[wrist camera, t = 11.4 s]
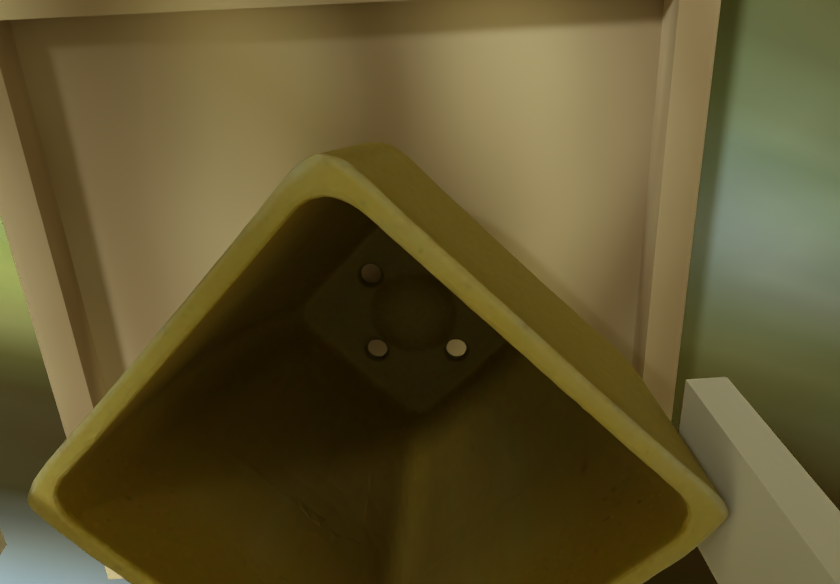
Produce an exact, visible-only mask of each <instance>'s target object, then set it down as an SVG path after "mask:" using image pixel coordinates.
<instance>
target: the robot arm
mask: <svg viewBox="0 0 840 584" xmlns="http://www.w3.org/2000/svg"><path fill="white" fill-rule="evenodd" d="M679 435H680V436H681V438H682V439H683V441H684V442H685V444H686V445H687V447H688V448H689V450H690V452H691V453H692V455H693V456H694V458H695V459H696V461H697V462H698V464H699V465H700V467H701V469H702V470H703V472H704V473H705V475H706V476H707V478H708V479H709V481H710V482H711V484H712V485H713V487H714V488H715V489H716V491H717V492H718V494H719V495H720V496H721V498H722V499H723V501H724V503H725V505H726V507H727V508H728V510H729V513H728V518H727V519H726V520H725V521H724V522H723V523H722V524H721V525H720V526H719V527H718V528H717V529H716V530H715V531H714V532H713V533H712V534H710V535H709V536H708V537H707V538H706V539H705V540H704V541H703V542H702V543H700V544H699V545H698V546H697V547H698V548H699V550H700V552H701V554H702V556H703V557H704V559H705V561H706V563H707V565H708V567H709V568H710V570H711V572H712V574H713V576H714V578H715V579H716V581H717V583H718V584H840V511H839V510H838V509H837V507H836V506H835V505H834V504H833V503H832V501H831V500H830V499H829V498H828V497H827V496H826V494H825V493H824V492H823V491H822V490H821V488H820V487H819V486H818V485H817V484H816V482H815V481H814V480H813V479H812V478H811V476H810V475H809V474H808V473H807V472H806V471H805V469H804V468H803V467H802V466H801V465H800V463H799V462H798V461H797V460H796V459H795V457H794V456H793V455H792V454H791V453H790V451H789V450H788V449H787V448H786V447H785V446H784V444H783V443H782V442H781V441H780V440H779V438H778V437H777V436H776V435H775V434H774V432H773V431H772V430H771V429H770V428H769V426H768V425H767V424H766V423H765V422H764V421H763V419H762V418H761V417H760V416H759V415H758V413H757V412H756V411H755V410H754V409H753V407H752V406H751V405H750V404H749V403H748V401H747V400H746V399H745V398H744V397H743V396H742V394H741V393H740V392H739V391H738V390H737V388H736V387H735V386H734V385H733V384H732V382H731V381H730V380H729V379H728V378H727V377H715V378H700V379H686V382H685V390H684V397H683V405H682V412H681V420H680V427H679ZM6 545H7V544H6V542H5V539H4V536H3V534H2V531H1V529H0V554H1V552H2V551H3V549H4V548H5V546H6Z"/></svg>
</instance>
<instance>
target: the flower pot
mask: <svg viewBox="0 0 840 584" xmlns="http://www.w3.org/2000/svg"><path fill="white" fill-rule="evenodd" d="M367 264H374V265H376V266H378V267H379V268H380V270H381V278H380V279H379V281H377V282H368V281H366V280H365V279H364V278H363V276H362V268H363V267H364V266H365V265H367ZM454 339H458V340H461V341H463V342H464V343H465V344H466V351H465V353H464V354H463V355H461V356H453V355H451V354H450V353H449V352H448V351H447V348H446V347H447V344H448V342H449V341H451V340H454ZM372 340H381V341H383V342H384V343H385V344H386V346H387V348H388V349H387V352H386V353H385V354H384V355H383V356H375V355H373V354H372V353H371V352H370V351H369V349H368V345H369V343H370V341H372ZM27 502H28V504H29V505H30V507H31V508H32V510H33V511H34V512H35V513H37V514H38V515H39V516H40V517H41V518H42V519H44V520H45V521H46V522H47V523H48V524H50V525H51V526H52V527H53V528H54V529H56V530H57V531H58V532H60V533H61V534H63V535H64V536H65V537H67V538H68V539H69V540H71V541H72V542H73V543H75V544H76V545H77V546H78V547H80V548H81V549H82V550H84V551H85V552H86V553H88V554H89V555H90V556H92V557H93V558H94V559H96V560H97V561H99V562H101V563H102V564H103V565H105V566H106V567H108V568H110V569H111V570H113V571H114V572H116V573H117V574H118V575H120V576H121V577H123V578H124V579H125V580H127V581H128V582H130V583H131V584H643V583H644V582H646V581H647V580H649V579H650V578H652V577H653V576H655V575H656V574H658V573H659V572H661V571H662V570H664V569H666V568H667V567H669V566H671V565H672V564H674V563H675V562H677V561H678V560H680V559H681V558H683V557H684V556H686V555H687V554H688V553H689V552H691V551H692V550H693V549H695V548H696V547H697V546H698V545H699V544H700V543H702V542H703V541H704V540H705V539H706V538H707V537H708V536H709V535H710V534H712V533H713V532H714V531H715V530H716V529H717V528H718V527H719V526H720V525H721V524H722V523H723V522H724V521H725V520H726V519H727V518H728V513H729V510H728V508H727V507H726V505H725V503H724V501H723V499H722V498H721V496H720V495H719V494H718V492H717V491H716V489H715V488H714V487H713V485H712V484H711V482H710V481H709V479H708V478H707V476H706V475H705V473H704V472H703V470H702V469H701V467H700V465H699V464H698V462H697V461H696V459H695V458H694V456H693V455H692V453H691V452H690V450H689V448H688V447H687V445H686V444H685V442H684V441H683V439H682V438H681V436H680V435H679V433H678V432H677V430H676V429H675V427H674V426H673V424H672V423H671V421H670V420H669V418H668V417H667V415H666V414H665V412H664V411H663V409H662V408H661V406H660V405H659V404H658V402H657V401H656V399H655V398H654V396H653V395H652V393H651V392H650V390H649V389H648V387H647V386H646V384H645V383H644V381H643V380H642V378H641V377H640V376H639V374H638V373H637V372H636V370H635V369H634V368H633V367H632V365H631V364H630V363H629V362H628V361H627V360H626V359H625V357H624V356H623V355H622V354H621V353H620V352H619V351H618V350H617V349H616V348H615V347H614V346H613V345H611V344H610V343H609V342H608V341H607V340H606V339H605V338H604V337H603V336H602V335H601V334H599V333H598V332H597V331H596V330H595V329H594V328H593V327H591V326H590V325H589V324H588V323H587V322H586V321H585V320H584V319H582V318H581V317H580V316H579V315H578V314H577V313H576V312H575V311H574V310H573V309H571V308H570V307H569V306H568V305H567V304H566V303H565V302H564V301H562V300H561V299H560V298H559V297H558V296H557V295H556V294H555V293H553V292H552V291H551V290H550V289H549V288H548V287H547V286H546V285H545V284H543V283H542V282H541V281H540V280H539V279H538V278H537V277H536V276H535V275H534V274H533V273H532V272H530V271H529V270H528V269H527V268H526V267H525V266H524V265H523V264H522V263H521V262H520V261H519V260H517V259H516V258H515V257H514V256H513V255H512V254H511V253H510V252H509V251H508V250H507V249H505V248H504V247H503V246H502V245H501V244H500V243H499V242H498V241H497V240H496V239H495V238H494V237H492V236H491V235H490V234H489V233H488V232H487V231H486V230H485V229H484V228H483V227H482V226H481V225H480V224H479V223H477V222H476V221H475V220H474V219H473V218H472V217H471V216H470V215H469V214H468V213H467V212H466V211H465V210H464V209H463V208H461V207H460V206H459V205H458V204H457V203H456V202H455V201H454V200H453V199H452V198H451V197H450V196H449V195H448V194H446V193H445V192H444V191H443V190H442V189H441V188H440V187H439V186H438V185H437V184H436V183H435V182H434V181H433V180H432V179H431V178H430V177H429V176H428V175H427V174H426V173H425V172H424V171H423V170H422V169H421V168H420V167H419V166H418V165H417V164H416V163H415V162H413V161H412V160H411V159H410V158H409V157H408V156H407V155H405V154H404V153H403V152H402V151H400V150H399V149H397V148H395V147H393V146H391V145H389V144H386V143H382V142H369V143H363V144H357V145H353V146H349V147H345V148H341V149H337V150H332V151H328V152H324V153H319V154H313V155H311V156H309V157H307V158H305V159H304V160H302V161H301V162H299V163H298V164H297V165H296V166H295V167H294V168H293V169H292V170H291V171H290V172H289V173H288V175H287V176H286V177H285V178H284V179H283V181H282V182H281V183H280V184H279V185H278V186H277V188H276V189H275V190H274V192H273V193H272V194H271V195H270V196H269V197H268V199H267V200H266V201H265V202H264V204H263V205H262V206H261V208H260V209H259V211H258V212H257V213H256V214H255V215H254V217H253V218H252V219H251V220H250V221H249V223H248V224H247V225H246V226H245V227H244V229H243V230H242V231H241V232H240V234H239V235H238V236H237V237H236V239H235V240H234V241H233V242H232V244H231V245H230V246H229V247H228V249H227V250H226V251H225V252H224V253H223V255H222V256H221V257H220V258H219V259H218V261H217V262H216V263H215V264H214V265H213V267H212V268H211V269H210V270H209V272H208V273H207V274H206V275H205V277H204V278H203V279H202V280H201V281H200V283H199V284H198V285H197V286H196V288H195V289H194V290H193V291H192V292H191V294H190V295H189V296H188V297H187V299H186V300H185V301H184V302H183V303H182V305H181V306H180V307H179V308H178V309H177V310H176V312H175V313H174V314H173V315H172V316H171V317H170V319H169V320H168V321H167V322H166V323H165V325H164V326H163V327H162V328H161V329H160V330H159V332H158V333H157V334H156V335H155V336H154V337H153V339H152V340H151V341H150V342H149V343H148V344H147V345H146V347H145V348H144V349H143V350H142V352H141V353H140V355H139V356H138V357H137V358H136V359H135V361H134V362H133V363H132V364H131V365H130V367H129V368H128V369H127V370H126V371H125V372H124V374H123V375H122V376H121V377H120V378H119V380H118V381H117V382H116V383H115V384H114V385H113V387H112V388H111V389H110V390H109V391H108V392H107V394H106V395H105V396H104V397H103V398H102V399H101V401H100V402H99V403H98V404H97V405H96V406H95V408H94V409H93V410H92V411H91V412H90V414H89V415H88V416H87V417H86V418H85V419H84V420H83V421H82V422H81V423H80V424H79V426H78V427H77V428H76V429H75V430H74V431H73V432H72V433H71V434H70V436H69V437H68V438H67V439H66V440H65V441H64V442H63V444H62V445H61V446H60V447H59V448H58V450H57V451H56V452H55V453H54V455H53V456H52V457H51V458H50V459H49V460H48V461H47V463H46V464H45V465H44V467H43V468H42V469H41V471H40V472H39V473H38V475H37V476H36V478H35V479H34V481H33V483H32V486H31V489H30V491H29V494H28V498H27Z"/></svg>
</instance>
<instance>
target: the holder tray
mask: <svg viewBox="0 0 840 584" xmlns="http://www.w3.org/2000/svg"><path fill="white" fill-rule="evenodd" d="M720 6H721V0H0V215H1V219H2V222H3V225H4V229H5V232H6V235H7V239H8V242H9V245H10V249H11V252H12V256H13V259H14V262H15V266H16V269H17V272H18V276H19V279H20V283H21V286H22V289H23V293H24V296H25V299H26V303H27V306H28V310H29V313H30V316H31V320H32V323H33V326H34V330H35V333H36V336H37V340H38V343H39V347H40V350H41V353H42V357H43V360H44V363H45V367H46V370H47V374H48V377H49V380H50V384H51V387H52V390H53V394H54V397H55V400H56V404H57V407H58V411H59V414H60V417H61V421H62V424H63V427H64V431H65V434H66V438H68V437H69V436H70V434H71V433H72V432H73V431H74V430H75V429H76V428H77V427H78V426H79V424H80V423H81V422H82V421H83V420H84V419H85V418H86V417H87V416H88V415H89V414H90V412H91V411H92V410H93V409H94V408H95V406H96V405H97V404H98V403H99V402H100V401H101V399H102V398H103V397H104V396H105V395H106V394H107V392H108V391H109V390H110V389H111V388H112V387H113V385H114V384H115V383H116V382H117V381H118V380H119V378H120V377H121V376H122V375H123V374H124V372H125V371H126V370H127V369H128V368H129V367H130V365H131V364H132V363H133V362H134V361H135V359H136V358H137V357H138V356H139V355H140V353H141V352H142V350H143V349H144V348H145V347H146V345H147V344H148V343H149V342H150V341H151V340H152V339H153V337H154V336H155V335H156V334H157V333H158V332H159V330H160V329H161V328H162V327H163V326H164V325H165V323H166V322H167V321H168V320H169V319H170V317H171V316H172V315H173V314H174V313H175V312H176V310H177V309H178V308H179V307H180V306H181V305H182V303H183V302H184V301H185V300H186V299H187V297H188V296H189V295H190V294H191V292H192V291H193V290H194V289H195V288H196V286H197V285H198V284H199V283H200V281H201V280H202V279H203V278H204V277H205V275H206V274H207V273H208V272H209V270H210V269H211V268H212V267H213V265H214V264H215V263H216V262H217V261H218V259H219V258H220V257H221V256H222V255H223V253H224V252H225V251H226V250H227V249H228V247H229V246H230V245H231V244H232V242H233V241H234V240H235V239H236V237H237V236H238V235H239V234H240V232H241V231H242V230H243V229H244V227H245V226H246V225H247V224H248V223H249V221H250V220H251V219H252V218H253V217H254V215H255V214H256V213H257V212H258V211H259V209H260V208H261V206H262V205H263V204H264V202H265V201H266V200H267V199H268V197H269V196H270V195H271V194H272V193H273V192H274V190H275V189H276V188H277V186H278V185H279V184H280V183H281V182H282V181H283V179H284V178H285V177H286V176H287V175H288V173H289V172H290V171H291V170H292V169H293V168H294V167H295V166H296V165H297V164H298V163H299V162H301V161H302V160H304V159H305V158H307V157H309V156H311V155H313V154H319V153H324V152H328V151H332V150H337V149H341V148H345V147H349V146H353V145H357V144H363V143H369V142H382V143H386V144H389V145H391V146H393V147H395V148H397V149H399V150H400V151H402V152H403V153H404V154H405V155H407V156H408V157H409V158H410V159H411V160H412V161H413V162H415V163H416V164H417V165H418V166H419V167H420V168H421V169H422V170H423V171H424V172H425V173H426V174H427V175H428V176H429V177H430V178H431V179H432V180H433V181H434V182H435V183H436V184H437V185H438V186H439V187H440V188H441V189H442V190H443V191H444V192H445V193H446V194H448V195H449V196H450V197H451V198H452V199H453V200H454V201H455V202H456V203H457V204H458V205H459V206H460V207H461V208H463V209H464V210H465V211H466V212H467V213H468V214H469V215H470V216H471V217H472V218H473V219H474V220H475V221H476V222H477V223H479V224H480V225H481V226H482V227H483V228H484V229H485V230H486V231H487V232H488V233H489V234H490V235H491V236H492V237H494V238H495V239H496V240H497V241H498V242H499V243H500V244H501V245H502V246H503V247H504V248H505V249H507V250H508V251H509V252H510V253H511V254H512V255H513V256H514V257H515V258H516V259H517V260H519V261H520V262H521V263H522V264H523V265H524V266H525V267H526V268H527V269H528V270H529V271H530V272H532V273H533V274H534V275H535V276H536V277H537V278H538V279H539V280H540V281H541V282H542V283H543V284H545V285H546V286H547V287H548V288H549V289H550V290H551V291H552V292H553V293H555V294H556V295H557V296H558V297H559V298H560V299H561V300H562V301H564V302H565V303H566V304H567V305H568V306H569V307H570V308H571V309H573V310H574V311H575V312H576V313H577V314H578V315H579V316H580V317H581V318H582V319H584V320H585V321H586V322H587V323H588V324H589V325H590V326H591V327H593V328H594V329H595V330H596V331H597V332H598V333H599V334H601V335H602V336H603V337H604V338H605V339H606V340H607V341H608V342H609V343H610V344H611V345H613V346H614V347H615V348H616V349H617V350H618V351H619V352H620V353H621V354H622V355H623V356H624V357H625V359H626V360H627V361H628V362H629V363H630V364H631V365H632V367H633V368H634V369H635V370H636V372H637V373H638V374H639V376H640V377H641V378H642V380H643V381H644V383H645V384H646V386H647V387H648V389H649V390H650V392H651V393H652V395H653V396H654V398H655V399H656V401H657V402H658V404H659V405H660V406H661V408H662V409H663V411H664V412H665V414H666V415H667V417H668V418H669V420H670V421H671V420H672V412H673V403H674V395H675V386H676V378H677V369H678V361H679V353H680V344H681V336H682V327H683V319H684V310H685V302H686V293H687V285H688V276H689V268H690V260H691V251H692V243H693V234H694V226H695V217H696V209H697V200H698V192H699V183H700V175H701V167H702V158H703V150H704V141H705V133H706V124H707V116H708V107H709V99H710V90H711V82H712V74H713V65H714V57H715V48H716V40H717V31H718V23H719V14H720ZM362 276H363V278H364V279H365V280H366V281H368V282H377V281H379V279H380V278H381V270H380V268H379V267H378V266H376V265H374V264H367V265H365V266H364V267H363V268H362ZM446 348H447V351H448V352H449V353H450V354H451V355H453V356H461V355H463V354H464V353H465V351H466V344H465V343H464V342H463V341H461V340H458V339H454V340H451V341H449V342H448V344H447V347H446ZM368 349H369V351H370V352H371V353H372V354H373V355H375V356H383V355H384V354H385V353H386V352H387V349H388V348H387V346H386V344H385V343H384V342H383V341H381V340H372V341H370V343H369V345H368ZM104 566H105V565H104ZM105 569H106V572H107V576H108V579H120V578H123V577H121V576H120V575H118V574H117V573H116V572H114V571H113V570H111V569H110V568H108V567H106V566H105Z"/></svg>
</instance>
